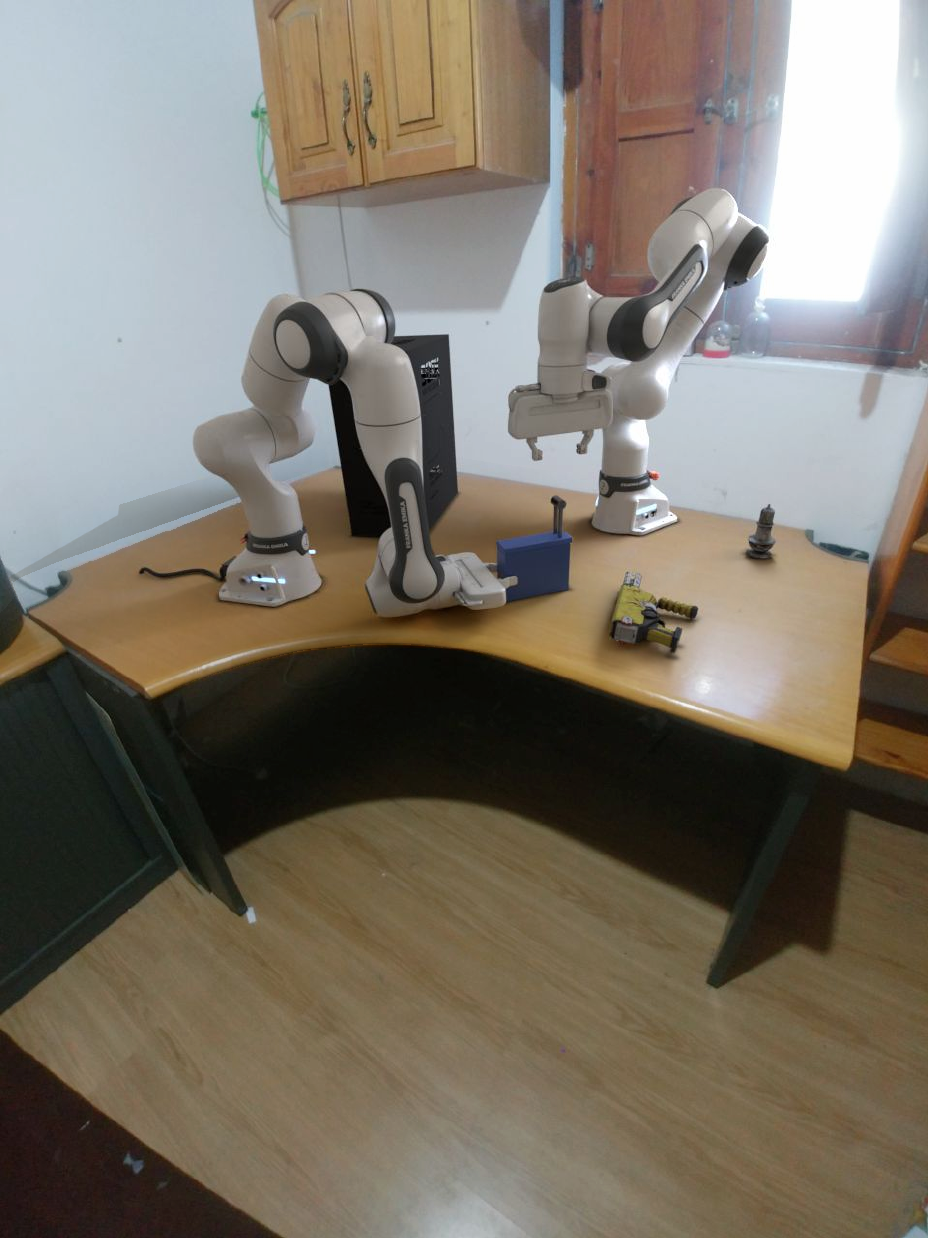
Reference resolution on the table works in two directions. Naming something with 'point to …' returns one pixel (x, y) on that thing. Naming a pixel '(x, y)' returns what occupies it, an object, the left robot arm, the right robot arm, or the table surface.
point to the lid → (543, 538)
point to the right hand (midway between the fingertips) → (559, 456)
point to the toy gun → (645, 616)
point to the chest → (535, 571)
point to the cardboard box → (437, 440)
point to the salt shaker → (762, 535)
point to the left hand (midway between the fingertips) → (510, 573)
